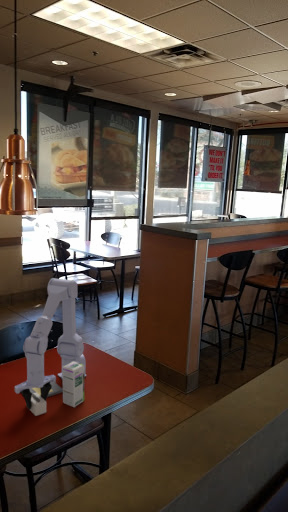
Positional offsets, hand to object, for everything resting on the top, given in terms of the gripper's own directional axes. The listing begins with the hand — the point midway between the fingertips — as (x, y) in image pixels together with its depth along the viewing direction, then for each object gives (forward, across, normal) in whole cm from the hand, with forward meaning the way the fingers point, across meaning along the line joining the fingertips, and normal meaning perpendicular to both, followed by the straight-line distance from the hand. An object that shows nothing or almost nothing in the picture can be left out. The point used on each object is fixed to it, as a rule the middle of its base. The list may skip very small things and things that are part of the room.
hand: (36, 405), depth 142 cm
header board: (+1, +7, +10) cm, 13 cm away
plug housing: (+1, 0, 0) cm, 1 cm away
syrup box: (+2, +13, -4) cm, 14 cm away
